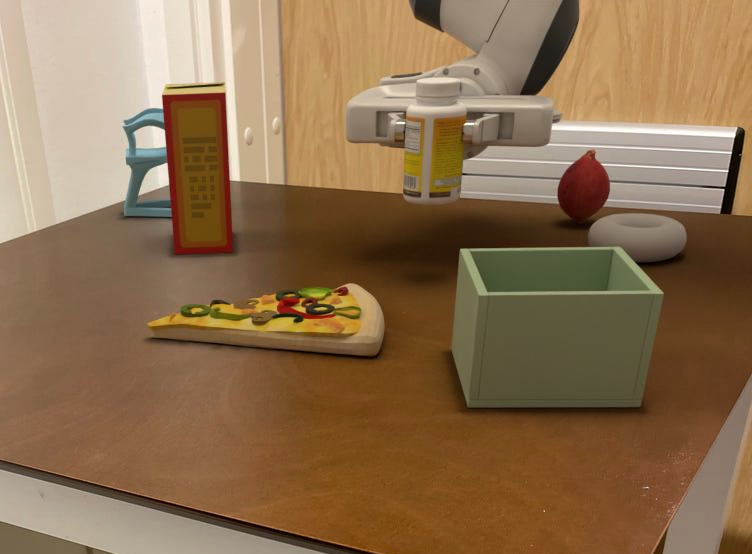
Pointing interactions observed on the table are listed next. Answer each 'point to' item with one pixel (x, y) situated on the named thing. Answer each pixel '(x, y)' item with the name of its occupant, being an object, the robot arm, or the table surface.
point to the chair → (144, 165)
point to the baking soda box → (198, 167)
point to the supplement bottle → (434, 143)
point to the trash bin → (553, 327)
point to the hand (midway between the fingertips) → (432, 133)
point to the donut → (639, 235)
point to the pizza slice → (285, 321)
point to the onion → (583, 188)
